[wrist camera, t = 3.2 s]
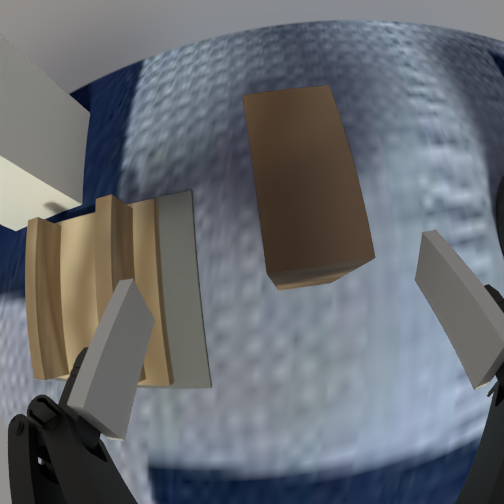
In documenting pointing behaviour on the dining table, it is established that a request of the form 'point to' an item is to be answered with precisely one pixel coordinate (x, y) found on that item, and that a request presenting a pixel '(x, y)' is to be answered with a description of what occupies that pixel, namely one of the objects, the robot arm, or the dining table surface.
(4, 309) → the dining table surface
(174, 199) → the mat
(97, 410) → the robot arm
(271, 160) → the brown wooden block
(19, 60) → the milk
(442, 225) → the dining table surface
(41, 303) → the rack
